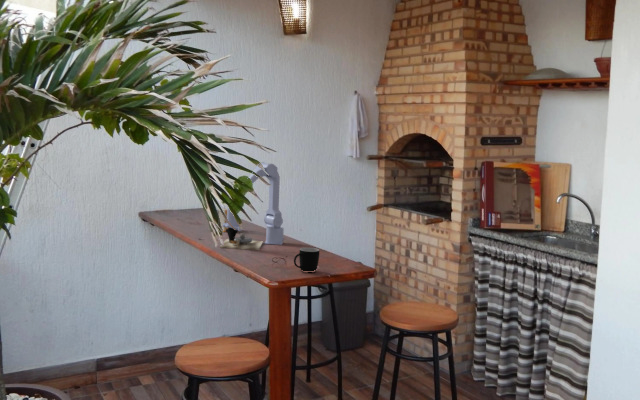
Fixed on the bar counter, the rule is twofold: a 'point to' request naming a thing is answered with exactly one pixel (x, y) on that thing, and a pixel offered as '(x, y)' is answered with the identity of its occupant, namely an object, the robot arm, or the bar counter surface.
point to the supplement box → (223, 219)
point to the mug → (308, 259)
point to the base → (242, 244)
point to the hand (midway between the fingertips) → (231, 242)
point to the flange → (241, 240)
